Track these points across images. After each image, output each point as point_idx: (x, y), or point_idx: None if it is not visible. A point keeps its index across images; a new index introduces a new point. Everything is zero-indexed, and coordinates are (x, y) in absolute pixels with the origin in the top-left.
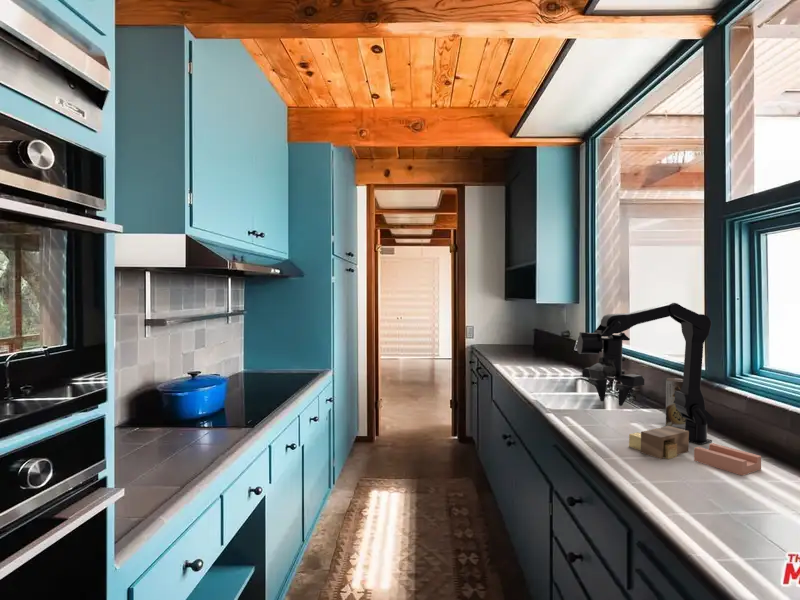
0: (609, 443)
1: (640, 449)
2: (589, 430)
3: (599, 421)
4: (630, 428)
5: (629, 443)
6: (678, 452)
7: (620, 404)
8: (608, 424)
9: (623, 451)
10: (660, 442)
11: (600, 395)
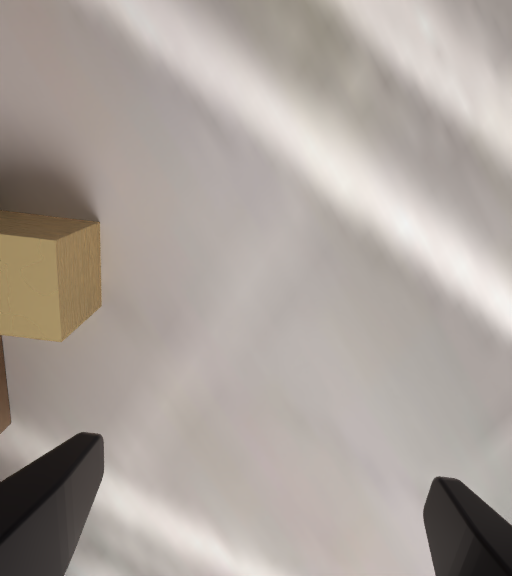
0: (208, 167)
1: (14, 213)
2: (461, 329)
3: None
4: (309, 545)
5: (87, 225)
6: None
7: (63, 446)
8: None
9: (43, 78)
10: None
11: (506, 558)
